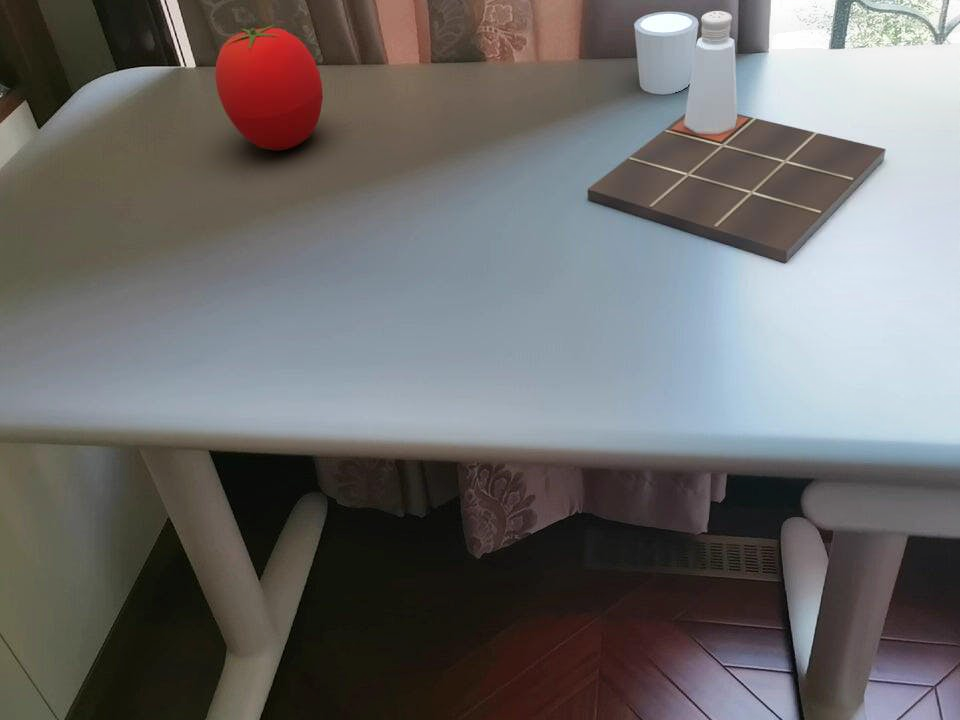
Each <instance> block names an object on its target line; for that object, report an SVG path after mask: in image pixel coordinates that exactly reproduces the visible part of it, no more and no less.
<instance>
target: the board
mask: <svg viewBox="0 0 960 720" xmlns="http://www.w3.org/2000/svg"><path fill="white" fill-rule="evenodd" d="M684 120H685V114H683V115H682V116H681V117H679V118H678V119H676V120H675V121H674V122H672V123H671V124H670V125H669V126H668V127H666V128H665V129H664V130H662V131H661V132H660V133H659V134H657V135H655V136H654V137H653V138H651V140H649V141H648V142H646V144H644V145H643V146H642V147H640V148H639V149H638V150H636V151H635V152H634V153H633V154H631V155H630V156H629V157H628V158H626V159H625V160H623V161H622V162H621V163H619V164H618V165H616V166H615V168H613V169H611V170H610V171H609V172H607V174H605V175H603V176H602V177H601V178H600V179H599V180H598V181H596V182H594V184H592V185H591V186H589V187H588V188H587V200H588V201H590V202H592V203H593V202H594V203H596V204H600V205H602V206H606V207H609V208H612V209H614V210H615V209H616V210H618V211H621V212H625V213H628V214H631V215H633V216H637V217H640V218H643V219H647V220H650V221H652V222H656V223H659V224H661V225H665V226H669V227H672V228H675V229H677V230H681V231H683V232H687V233H690V234H694V235H696V236H699V237H703V238H705V239H709V240H712V241H715V242H719V243H721V244H726V245H728V246H731V247H734V248H736V249H737V248H738V249H741V250H743V251H747V252H750V253H753V254H756V255H759V256H762V257H766V258H769V259H771V260H775V261H778V262H781V263H784V264H786V263H787V262H788V261H789V260H790V259H791V258H792V257H793V256H794V255H795V253H797V251H798V250H799V249H801V248H802V246H804V244H805V243H806V242H807V241H808V240H809V239H810V238H811V237H812V236H813V235H814V234H815V233H816V232H817V230H819V228H820V227H822V225H824V223H825V222H826V221H827V220H828V219H829V218H830V217H831V216H832V215H833V214H834V213H835V212H836V211H837V210H838V208H840V207H841V206H842V204H844V202H846V200H848V198H849V197H850V196H851V195H852V194H853V192H855V191H856V190H857V189H858V188H859V186H861V184H863V182H864V181H866V180H867V178H868V177H869V176H870V175H871V174H872V173H873V172H874V171H875V170H876V169H877V168H878V167H879V166H880V165H881V163H883V161H884V160H885V156H886V148H883V147H880V146H874V145H870V144H867V143H862V142H858V141H855V140H854V141H853V140H849V139H846V138H841V137H836V136H832V135H828V134H824V133H819V132H815V131H812V130H807V129H802V128H800V127H799V128H798V127H794V126H790V125H785V124H781V123H777V122H772V121H769V120H764V119H761V118H755V117H752V116H746V115H743V114H739V113H737V121H736V125H735V128H734V129H733V130H730V131H727V132H724V133H721V134H719V135H708V134H696V133H695V132H693V131H691V130H690V129H688V128H686V127H685V126H684Z"/></svg>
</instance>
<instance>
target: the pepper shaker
mask: <svg viewBox="0 0 960 720" xmlns="http://www.w3.org/2000/svg"><path fill="white" fill-rule="evenodd" d="M732 20H733V16H732V15H731V13H729V12H727V11H723V10H712V11H708V12H706V13H704V14H703V15H702V16H701V19H700V22H701V37H699V38H698V39H697V40H696V46H695V53H694V60H693V66H692V73H691V80H690V85H689V87H688V94H687V101H686V108H685V113H684V115H685V120H684V126H685V127H686V128H688V129H690V130H691V131H693V132H695V133H696V134H708V135H719V134H721V133H724V132H727V131H730V130H733V129H734V128H735V125H736V121H737V114H738V102H737V101H738V99H737V98H738V97H737V71H736V69H737V68H736V44H735V43H736V42H735V39H733V38H732V37H730V36H731V35H730V33H731V29H732V28H731V27H732V26H731V24H732Z"/></svg>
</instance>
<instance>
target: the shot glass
mask: <svg viewBox="0 0 960 720" xmlns="http://www.w3.org/2000/svg"><path fill="white" fill-rule="evenodd" d="M698 20H699V19H698V18H697V17H695V16H694V15H692V14H690V13H686V12H681V11H660V12H653V13H650V14H649V13H648V14H645V15H643V16H642V17H639V18H638V19H637V20H636V21H635V22H634V23H633V25H634V37H635V47H636V48H635V49H636V59H637V69H638V81H639V87H641V88H640V89H642V90H643V91H644V92H646V93H649V94H652V95H674V94H676V93H675V92H678V91H681V90H683V89H684V88H686V87H688V85H689V84H690V80H691V73H692V66H693V60H694V53H695V48H696V44H697V40H698V39H697V38H698V31H699V21H698ZM689 86H690V85H689ZM688 88H689V87H688ZM683 91H684V90H683ZM681 92H682V91H681ZM673 93H674V94H673ZM678 93H679V92H678Z"/></svg>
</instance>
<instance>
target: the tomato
mask: <svg viewBox="0 0 960 720" xmlns="http://www.w3.org/2000/svg"><path fill="white" fill-rule="evenodd" d="M273 26H275V24H273V25H269V26H266V27H263V28H257V29H256V28H254V27H253V28H250V29H245V28H241V30H242V31H244V32H240V33H237V34H235V35H232V36H230V38H228V39H227V40H226V42H225V43H223V44H222V47H220V49H219V54H218V57H217V59H216V62H215V72H214V78H215V83H216V84H215V85H216V91H217V95H218V97H219V100H220V103H221V106H222V108H223V109H224V111H225V114H226V115H227V117H228V119H229V120H230V122H231V123H232V124H233V126H234V127H235V128H236V130H237V131H238V132H239V133H240V134H241V135H242V136H243V138H245V139H246V140H247V141H248V142H250V143H251V144H254V145H255V146H257V147H258V148H261V149H265V150H270V151H285V150H288V149H292V148H294V147H297V146H298V145H300V144H301V143H303V142H304V141H305V140H307V139H308V138H310V136H311V135H312V133H313V131H314V130H315V128H316V127H317V125H318V123H319V119H320V116H321V112H322V106H323V99H324V97H323V96H324V94H323V82H322V78H321V74H320V71H319V67H318V66H317V63H316V60H315V58H314V57H313V56H312V54H311V52H310V50H309V49H308V47H307V46H306V44H304V43H303V42H302V40H300V38H298V37H297V36H295V35H293V34H292V33H290V32H288V31H286V30H284V29H282V28H276V27H273Z"/></svg>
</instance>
